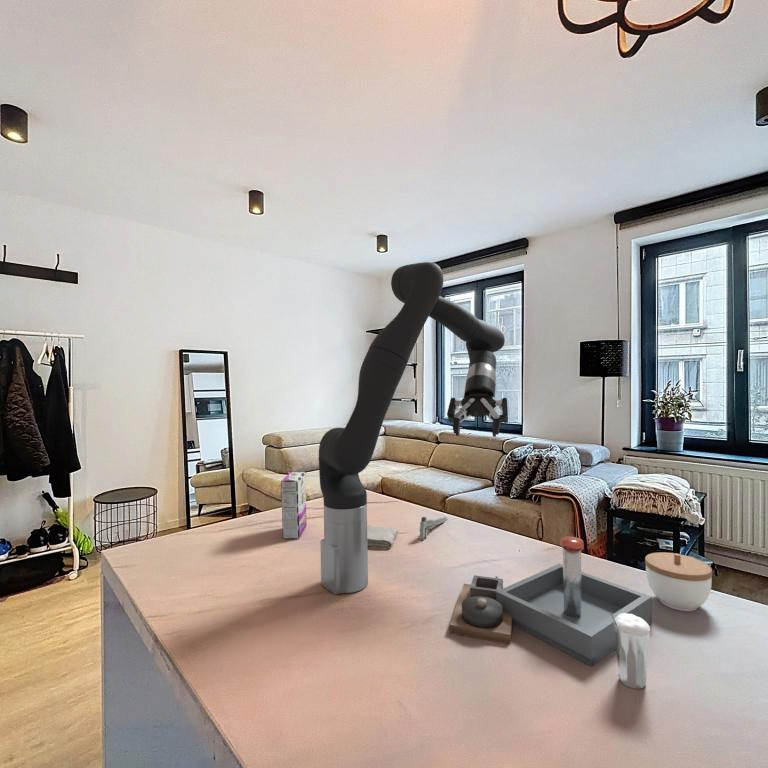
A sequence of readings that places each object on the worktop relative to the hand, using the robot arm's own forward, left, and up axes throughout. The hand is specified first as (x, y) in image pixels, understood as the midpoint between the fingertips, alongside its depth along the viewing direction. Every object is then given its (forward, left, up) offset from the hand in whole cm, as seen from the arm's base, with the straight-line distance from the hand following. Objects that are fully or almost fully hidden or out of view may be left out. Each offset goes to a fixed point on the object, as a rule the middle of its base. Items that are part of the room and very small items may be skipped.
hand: (475, 434), depth 103 cm
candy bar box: (-24, +48, -31) cm, 62 cm away
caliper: (+10, +25, -31) cm, 41 cm away
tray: (-4, -26, -31) cm, 41 cm away
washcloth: (-11, +31, -31) cm, 46 cm away
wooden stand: (-15, -16, -31) cm, 38 cm away
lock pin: (-4, -26, -30) cm, 40 cm away
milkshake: (-13, -40, -31) cm, 52 cm away
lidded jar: (+17, -35, -31) cm, 50 cm away
